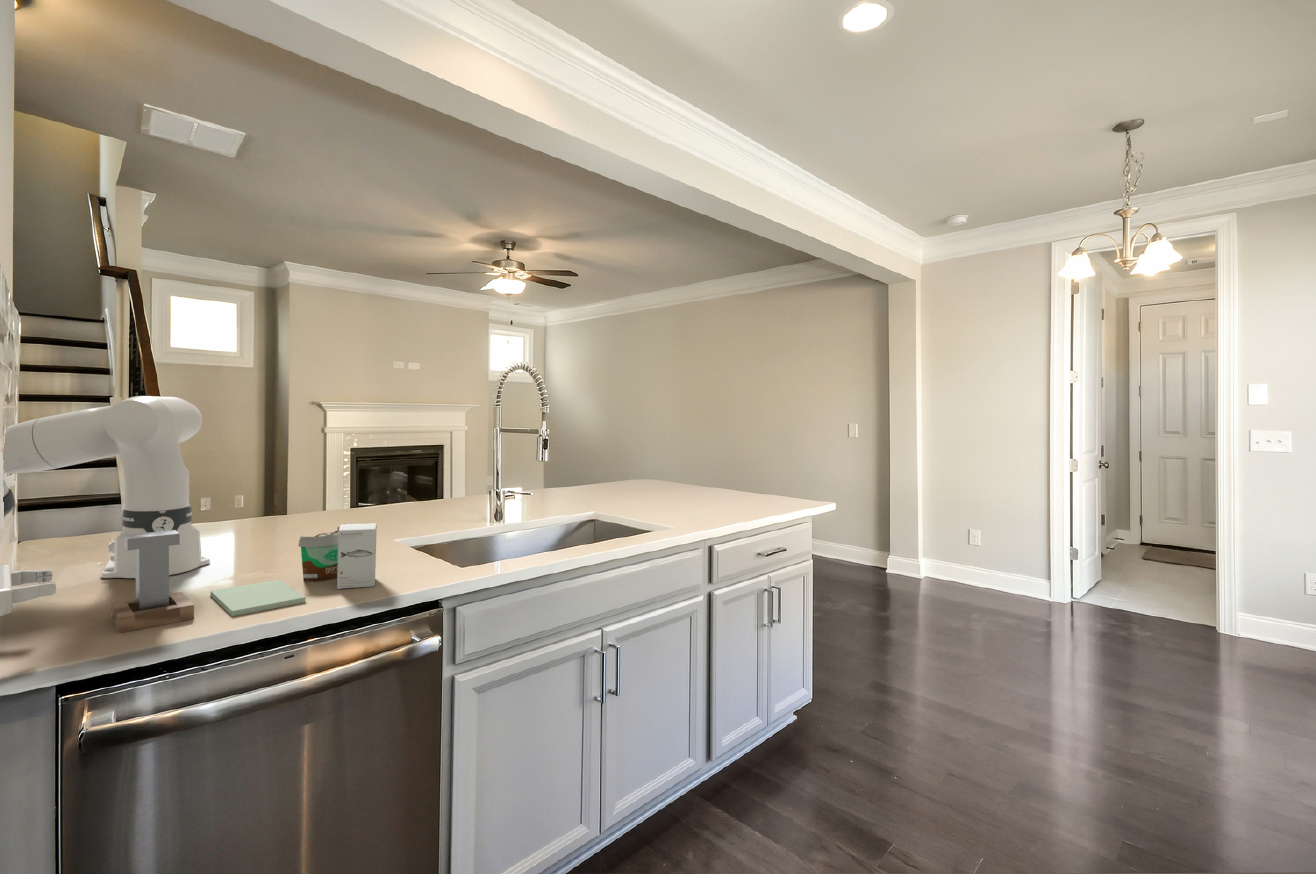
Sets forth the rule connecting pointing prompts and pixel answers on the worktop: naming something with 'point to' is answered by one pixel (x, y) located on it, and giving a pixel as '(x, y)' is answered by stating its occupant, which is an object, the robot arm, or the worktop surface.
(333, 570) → the food container
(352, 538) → the supplement box
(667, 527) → the worktop surface
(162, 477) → the robot arm
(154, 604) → the t-key
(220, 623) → the worktop surface
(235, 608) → the green mat
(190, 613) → the socket block
